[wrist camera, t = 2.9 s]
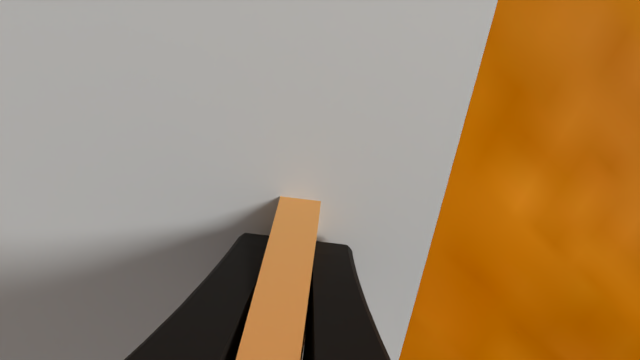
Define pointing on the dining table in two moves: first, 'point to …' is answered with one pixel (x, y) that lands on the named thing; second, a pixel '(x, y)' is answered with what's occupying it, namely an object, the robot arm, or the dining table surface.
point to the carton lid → (220, 159)
